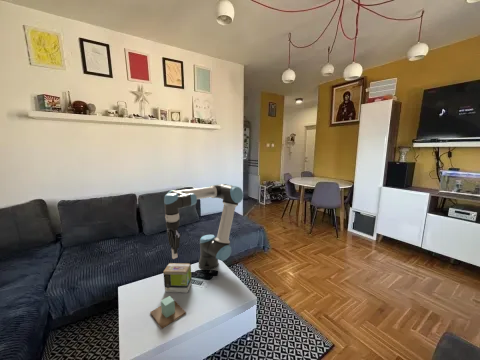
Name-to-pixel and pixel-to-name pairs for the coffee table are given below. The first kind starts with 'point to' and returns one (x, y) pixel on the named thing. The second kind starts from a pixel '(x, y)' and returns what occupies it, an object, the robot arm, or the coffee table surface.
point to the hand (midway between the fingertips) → (174, 257)
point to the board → (165, 321)
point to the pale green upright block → (167, 306)
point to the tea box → (177, 277)
